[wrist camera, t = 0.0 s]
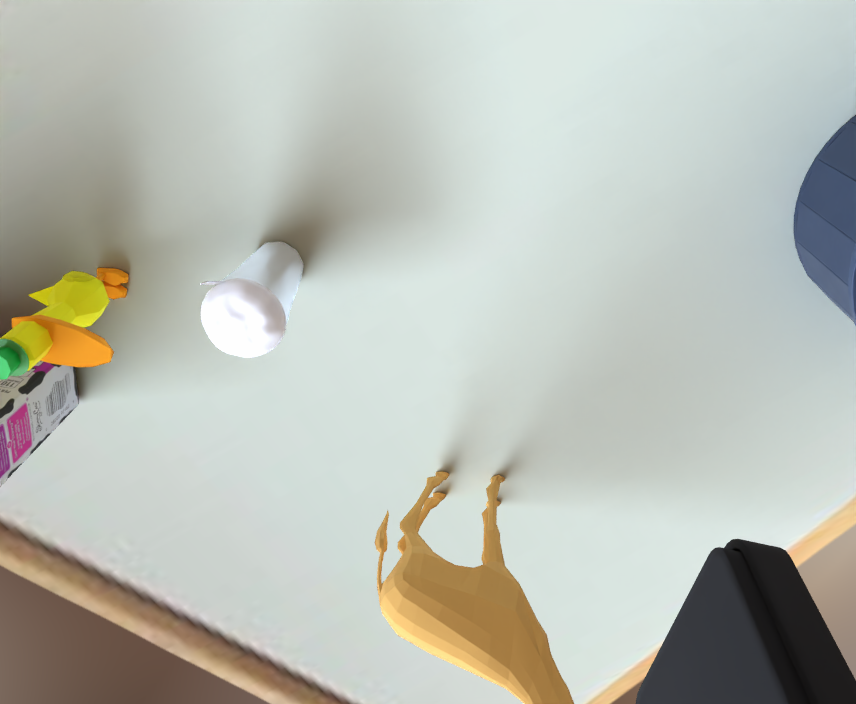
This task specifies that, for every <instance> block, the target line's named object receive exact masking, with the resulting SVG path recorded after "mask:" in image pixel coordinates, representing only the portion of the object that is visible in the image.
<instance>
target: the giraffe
mask: <svg viewBox="0 0 856 704" xmlns="http://www.w3.org/2000/svg"><path fill="white" fill-rule="evenodd" d="M448 476H449V474H448V473H446V472H443V471H440V472H436V476H435V477H429V478H427V485H426V487H425V489H424V491H423V492H422V494H421V496H420V498H419V499H418V501H417V503H416V504H415V505H414V507H413V508H412V509H411V510H410V511H409V513H408V514H407V515H406V516H405V517H404V519H403V520H402V521H401V522H400V529H401V530H402V532H403V533H404V534H405V535H404V536H403V537H402V538H401V540H400V541H399V542H398V549H399V551H400V552H401V553H402V556H401V558H400V560H399V561H398V563H397V564H396V566H395V567H394V569H393V570H392V572H391V573H390V574H389V576H388V577H387V579H386V580H385V581H384V583H382V584H381V570H382V561H383V555H384V552H385V551H386V550H387V535H386V530H387V522H388V516H389V513H388V511H387V514H386V516H385V518H384V520H383V522H382V524H381V526H380V527H379V529H378V531H377V535H376V539H375V545H376V549H377V550H378V551H379V552H380V557H379V562H378V572H377V588H378V594H379V602H380V607H381V610H382V613H383V615H384V617H385V618H386V620H387V621H388V623H389V624H390V626H391V627H392V628H393V629H394V631H395V632H396V633H397V634H398V636H400V637H402V638H404V639H405V640H407V641H409V642H411V643H412V644H414V645H416V646H418V647H420V648H421V649H423V650H425V651H427V652H428V653H430V654H432V655H434V656H437V657H439V658H441V659H443V660H445V661H447V662H450V663H452V664H454V665H456V666H458V667H461V668H463V669H465V670H467V671H469V672H471V673H473V674H476V675H478V676H480V677H482V678H484V679H486V680H488V681H491V682H493V683H495V684H497V685H499V686H501V687H503V688H505V689H507V690H508V691H509V692H511V693H512V694H513V695H514V696H516V697H517V698H518V699H519V700H521V701H522V702H523V703H524V704H574V702H573V700H572V697H571V695H570V692H569V690H568V687H567V685H566V684H565V682H564V681H563V679H562V677H561V675H560V673H559V671H558V669H557V667H556V664H555V662H554V660H553V658H552V655H551V652H550V648H549V643H548V638H547V635H546V633H545V631H544V630H543V628H542V627H541V625H540V623H539V622H538V620H537V618H536V616H535V614H534V612H533V610H532V608H531V606H530V604H529V602H528V600H527V598H526V596H525V594H524V592H523V590H522V588H521V586H520V584H519V583H518V582H517V580H516V579H515V578H514V577H513V575H512V574H511V573H510V572H509V571H508V569H507V568H506V567H505V564H504V559H503V554H502V549H501V544H500V533H499V530H498V527H497V525H496V507H497V506H499V505H500V504H501V503H500V502H499V501H497V496H498V491H499V487H500V483H501V482H503V481H504V480H505V478H504V477H502V476H500V475H496V476H493V477H492V478H491V484H490V485H489V486H488V487H487V488H486V490H487V496H488V502H487V504H486V506H487V508H486V510H485V511H484V512H483V513H482V516H483V522H484V547H483V554H482V562H483V565H481V566H478V567H475V568H471V567H464V566H458V565H454V564H452V563H450V562H448V561H446V560H444V559H443V558H441V557H440V556H438V555H437V554H436V553H434V552H433V551H432V550H431V548H430V547H429V546H428V545H427V544H426V543H425V541H424V540H423V539H422V538H421V537H420V536H419V534H418V531H419V528H420V526H421V524H422V523H423V521H424V519H425V518H426V516H427V514H428V513H429V511H430V510H431V509H432V508H434V507H436V506H437V505H438V504H439V503H440V501H442V500H443V499H444V498H445V497H446V495H445V494H443V493H440V492H438V493H433V497H431V498H428V496H429V495H430V493H431V492H432V490H433V489H434V488H435V487H437V486H439V485H440V484H441V483H442V482H443V480H446V479H447V478H448ZM423 504H424V507H423V509H422V506H423ZM421 509H422V510H421Z"/></svg>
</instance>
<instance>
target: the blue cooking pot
mask: <svg viewBox="0 0 856 704" xmlns="http://www.w3.org/2000/svg"><path fill="white" fill-rule="evenodd" d="M794 238H795V245H796V249H797V252H798V256H799V259H800V261H801V263H802V265H803V267H804V269H805V271H806V273H807V275H808V276H809V277H810V278H811V279H812V281H813V282H814V283H815V284H816V285H817V286H818V287H819V288H820V289H821V290H822V291H823V292H824V293H825V294H826V295H827V296H828V298H829V299H830V300H831V301H832V302H834V303H835V304H836V305H837V306H838V307H839V308H840V309H841V310H842V311H843V312H844V313H845V314H846V315H847V316H848V317H849V318H850V319H851V320H852V321H853V322H854V320H853V317H852V313H851V309H850V304H849V294H848V280H849V269H850V264H851V258H852V253H853V250H854V247H855V244H856V115H855V116H854V117H852V118H851V119H850V120H849V121H848V122H847V123H846V124H845V125H843V126H842V127H841V128H840V129H839V130H838V131H837V132H836V133H835V134H834V135H833V137H832V138H831V139H830V140H829V141H828V142H827V143H826V144H825V146H824V147H823V149H822V150H821V151H820V153H819V154H818V155H817V157H816V158H815V160H814V162H813V163H812V165H811V167H810V169H809V170H808V172H807V174H806V176H805V179H804V181H803V183H802V186H801V188H800V192H799V195H798V199H797V202H796V208H795V214H794Z"/></svg>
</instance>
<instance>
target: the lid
mask: <svg viewBox="0 0 856 704" xmlns="http://www.w3.org/2000/svg"><path fill="white" fill-rule="evenodd" d="M848 294H849V304H850V309H851V313H852V317H853V320H854V323H855V325H856V244H855V247H854V250H853V253H852V258H851V264H850V269H849V280H848Z"/></svg>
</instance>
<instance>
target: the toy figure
mask: <svg viewBox="0 0 856 704" xmlns="http://www.w3.org/2000/svg"><path fill="white" fill-rule="evenodd" d="M62 278H63V279H62V280H60V281H59V282H58V283H56V284H55V285H54V286H52V287H49V288H46V289H43V290H40V291H37V292H35V293H32V294H29V296H30V297H32V298H34V299H36V300H37V301H39V302H41V303H43V304H44V305H46V306H48V307H46V308H44V309H42V310H41V311H39V312H37V313H35V314H33V315H31V316H23V317H13V318H12V329H11V330H10V331H9V332H7V333H6V334H5V335H4V336H2V337H1V338H0V380H2V379H7V378H8V377H9V376H21V375H23V374H24V373H26V372H27V371H29V370H30V369H31V368H32V367H33V366H35V365H36V364H37V363H38V362H39V361H44V362H48V363H52V364H58V365H65V366H72V367H95V366H98V365H102V364H105V363H108V362H111V359H112V356H113V354H114V351H113V350H112V349H111V347H110V346H109V345H108V343H107V342H106V341H105V339H104V338H102V337H100V336H98V335H96V334H95V333H93V332H91V331H89V330H87V329H85V327H88V326H91V325H93V323H94V322H95V321H96V320H97V319H98V318H99V317H100V316H101V315H102V314H103V312H104V310H105V309H106V307H107V305H108V303H109V302H110V301H109V298H111V299H117V298H126V295H127V289H126V288H125V287H123V286H122V285H120V284H121V283H128V274H127V273H125V272H123V271H121V270H120V269H115V268H97V277H96V278H95V277H94V276H92V275H89V274H87V273H84V272H78V271H71V272H69V273H67V274H65V275H63V277H62ZM102 280H104V281H102Z"/></svg>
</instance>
